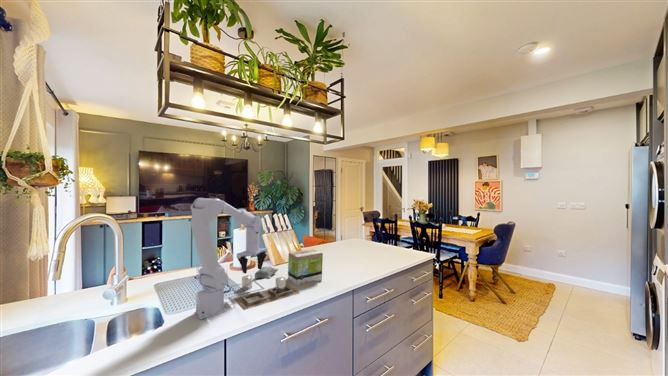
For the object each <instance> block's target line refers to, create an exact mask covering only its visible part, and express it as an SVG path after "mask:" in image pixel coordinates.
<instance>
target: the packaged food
mask: <svg viewBox="0 0 668 376" xmlns="http://www.w3.org/2000/svg"><path fill="white" fill-rule="evenodd" d="M278 271H279V268H274V267H273V266H262V269H258V270H257V271H256V272H255V274H254V279H263V280H264V279H271V277H273V275H275V273H277V272H278Z"/></svg>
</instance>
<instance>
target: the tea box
mask: <svg viewBox="0 0 668 376" xmlns="http://www.w3.org/2000/svg"><path fill="white" fill-rule="evenodd" d="M323 255H324V254H323V252H321V251H318V250H316V249H313V248H312V249H311V248H310V249H306V250H301V251H300V250H298V251H293V252H288V261H287V263H288V264H287V265H288V266H287V280H289V281H291V282H293V283H295V285H300V284H301V285H302V284H304V283H308V282H312V281H314V282H322V281H323V259H324V258H323Z"/></svg>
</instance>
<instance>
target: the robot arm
mask: <svg viewBox="0 0 668 376" xmlns="http://www.w3.org/2000/svg"><path fill="white" fill-rule="evenodd" d="M190 211H191V218H190V228H191V231H192V235H193V238H194V241H195V242H194V243H195V246H196V250H197V253H198V256H199V261H200V263H201V268H200V269H199V270H198V274H199V276H198V283H199V285H200V286H201V288H202V290H199V291H197V292H196V295H195V313H196V314H197V316H198V319H199V320H203V319H207V318H209V317H211V316H212V317H213V316H217V315H219V314H222V313H226V312H228V310H227V308H226V307H225V306H224V302H225V301H224V298H225V297H224V296H225V295H224V294H225V293H224V291H225V288H226V287H227V285H228V282H229V275H228V273H226V272H225V269H224V267H223V266H222V265H221V264H220V263H219V261H218V257H217V253H216V249H215V246H214V242H213V238H212V233H211V230H210V224H211V223H213V222H214V221H215V220H216V218H218V216H219V215H221V213H223V214H226V215H228V216H231V217H233V219H234V221H235V222H237V223H239V224H242V225H243V226H244V228H245V232H246V233H245V250H244V251H242V252H238V253H236V257H235V258H237V260H238V262H239V264H240V266H241V270H242V274H247V271H248V270H247V269H248V261H249V259H248V257H250V256H255V255H256V259H257V269H258V270H260V269H262V268H263V265H264V261H265V260H266V258H267V253H268V248H266V247H262V248H260V232H261V227H262V224H263V221H262V218H261V216H259V215H254V213H252V212H249V211H247V209H246V208H238V209H237V208H235V207H234V206H232V205H231V204H229V203H227V202H225V200H222V199H220V198H218V197H217V198H216V197H214V198H209V197H208V198H206V197H205V198H204V197H198V198H196V199H195V200H194V201H193V202H192V204H191V205H190Z"/></svg>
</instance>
